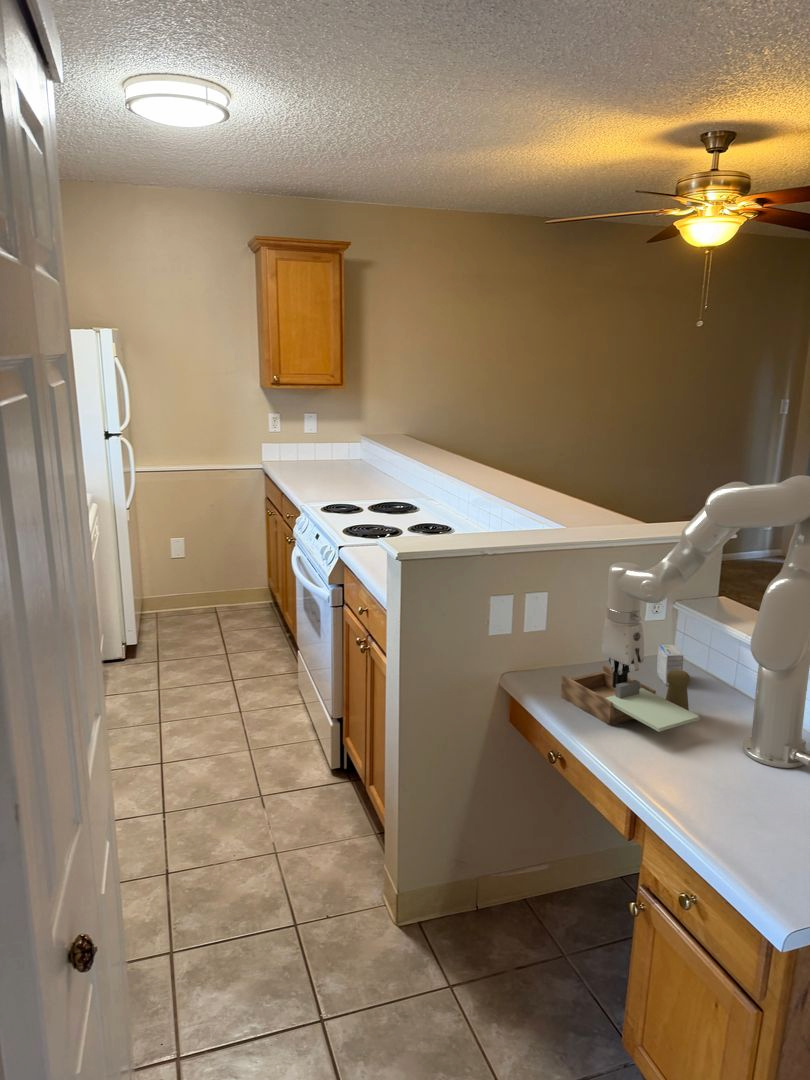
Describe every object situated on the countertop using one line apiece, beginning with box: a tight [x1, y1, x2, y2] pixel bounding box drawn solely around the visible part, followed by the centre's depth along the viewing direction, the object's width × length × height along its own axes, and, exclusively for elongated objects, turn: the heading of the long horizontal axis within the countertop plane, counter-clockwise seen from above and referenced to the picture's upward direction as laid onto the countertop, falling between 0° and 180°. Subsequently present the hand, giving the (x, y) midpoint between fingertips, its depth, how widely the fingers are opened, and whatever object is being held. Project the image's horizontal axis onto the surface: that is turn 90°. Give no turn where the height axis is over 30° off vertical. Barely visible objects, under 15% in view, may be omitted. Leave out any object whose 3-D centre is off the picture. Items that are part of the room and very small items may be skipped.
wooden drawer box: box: [560, 665, 656, 726], centre depth 187 cm, size 18×14×6 cm
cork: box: [665, 670, 691, 711], centre depth 180 cm, size 6×6×11 cm
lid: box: [606, 679, 700, 732], centre depth 173 cm, size 18×12×4 cm
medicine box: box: [656, 644, 684, 686], centre depth 201 cm, size 8×4×9 cm, turn 179°
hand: (619, 687), depth 182 cm, fingers closed
